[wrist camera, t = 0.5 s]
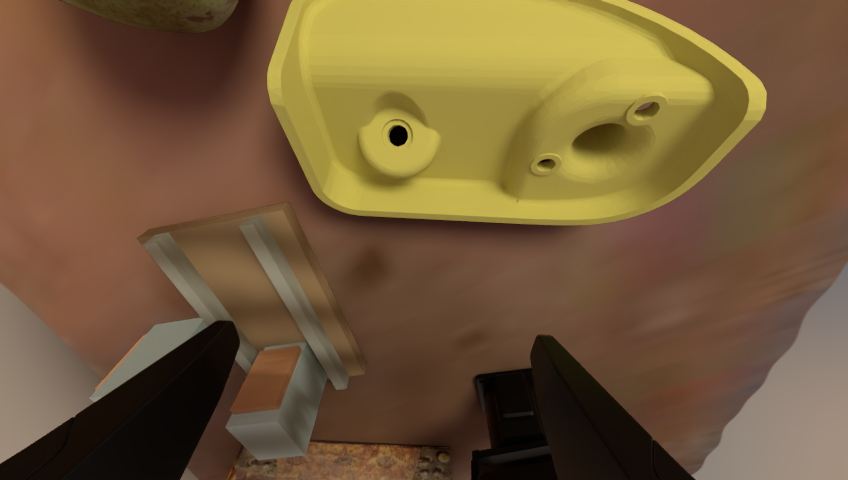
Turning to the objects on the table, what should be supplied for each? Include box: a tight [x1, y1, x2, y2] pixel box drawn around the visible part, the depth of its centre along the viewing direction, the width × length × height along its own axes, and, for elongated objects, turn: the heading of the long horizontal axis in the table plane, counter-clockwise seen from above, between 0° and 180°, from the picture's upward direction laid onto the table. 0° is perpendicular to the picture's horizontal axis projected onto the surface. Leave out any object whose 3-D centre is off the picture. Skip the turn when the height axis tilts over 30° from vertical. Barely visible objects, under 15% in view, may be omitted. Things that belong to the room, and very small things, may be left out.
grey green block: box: [89, 318, 208, 402], centre depth 28 cm, size 6×4×7 cm
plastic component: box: [267, 0, 767, 225], centre depth 18 cm, size 20×7×10 cm
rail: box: [137, 202, 366, 460], centre depth 25 cm, size 18×11×8 cm, turn 12°
